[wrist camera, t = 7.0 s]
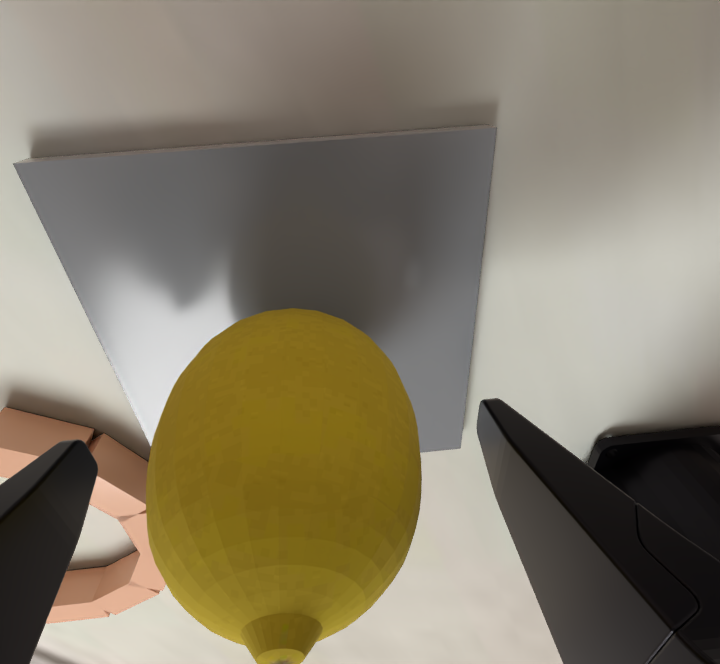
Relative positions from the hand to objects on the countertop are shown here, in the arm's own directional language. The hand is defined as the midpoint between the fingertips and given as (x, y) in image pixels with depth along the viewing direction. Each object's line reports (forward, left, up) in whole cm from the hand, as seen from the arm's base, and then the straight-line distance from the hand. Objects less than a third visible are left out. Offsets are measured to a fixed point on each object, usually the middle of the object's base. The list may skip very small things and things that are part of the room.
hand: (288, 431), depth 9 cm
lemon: (0, 0, -4) cm, 4 cm away
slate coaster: (0, 0, -4) cm, 4 cm away
